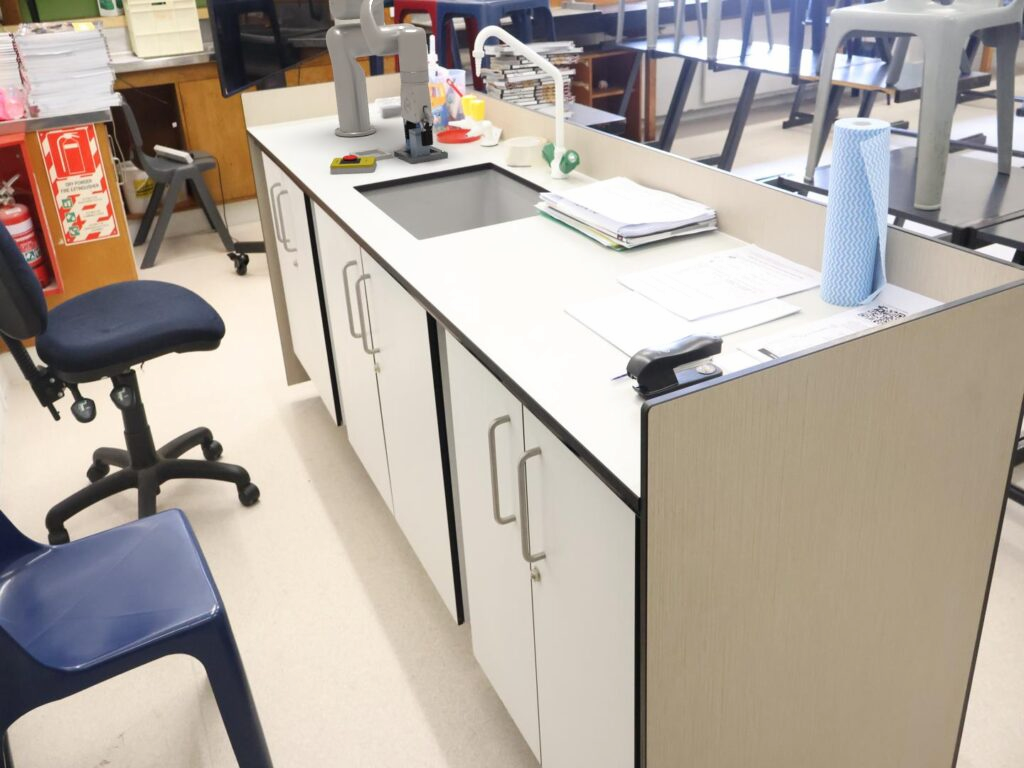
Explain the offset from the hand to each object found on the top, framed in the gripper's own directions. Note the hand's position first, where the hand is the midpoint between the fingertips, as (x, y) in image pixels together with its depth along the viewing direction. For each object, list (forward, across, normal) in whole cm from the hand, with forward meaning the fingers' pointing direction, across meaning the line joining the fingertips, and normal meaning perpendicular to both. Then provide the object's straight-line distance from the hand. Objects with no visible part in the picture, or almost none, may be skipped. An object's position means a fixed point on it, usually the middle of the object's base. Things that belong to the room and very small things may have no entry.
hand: (419, 142), depth 249 cm
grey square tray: (+5, -9, -11) cm, 15 cm away
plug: (+5, 0, 0) cm, 5 cm away
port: (+5, 0, 0) cm, 5 cm away
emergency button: (+5, +1, -20) cm, 21 cm away
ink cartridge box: (+5, -14, +6) cm, 16 cm away
